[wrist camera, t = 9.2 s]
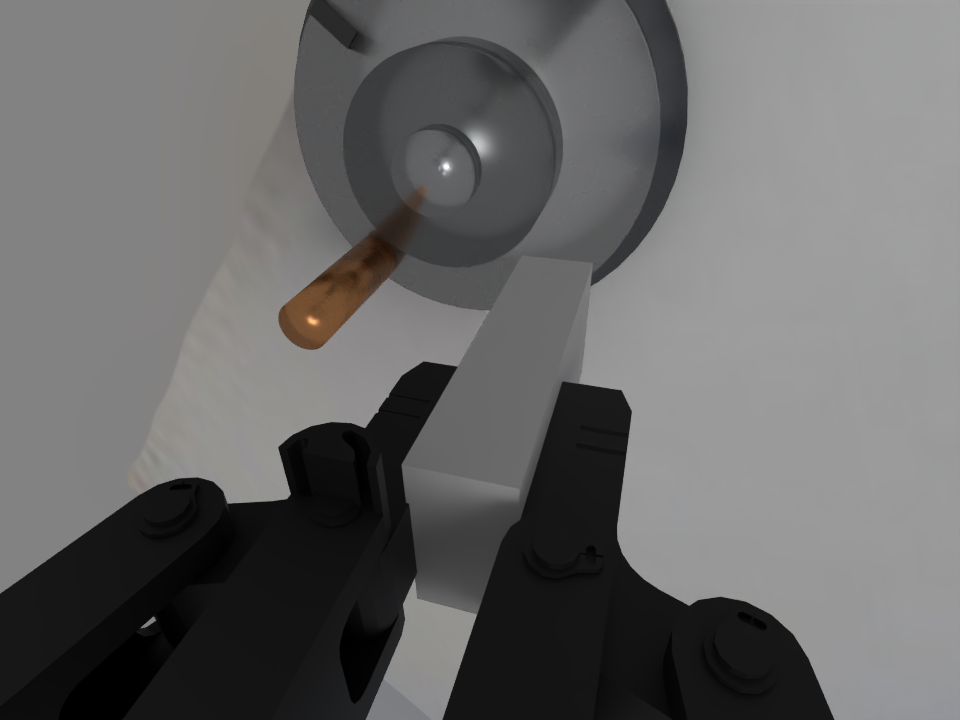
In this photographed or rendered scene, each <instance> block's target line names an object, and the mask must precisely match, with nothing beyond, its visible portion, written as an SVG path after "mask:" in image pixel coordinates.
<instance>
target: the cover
mask: <svg viewBox="0 0 960 720" xmlns="http://www.w3.org/2000/svg"><path fill="white" fill-rule="evenodd" d="M343 154H344V162H345V168H346V172H347V176H348V180H349V183H350V186H351V188H352V191H353V193H354V196H355V198H356V200H357V202H358V204H359V205H360V207H361V209H362V211H363V212H364V214H365V215H366V217H367V218H368V220H369V221H370V222H371V223H372V224H373V226H374V227H375V228H376V229H377V230H378V231H379V232H380V233H381V234H382V235H383V236H384V237H385V238H386V239H387V240H388V241H389V242H391V243H392V244H393V245H394V246H396V247H397V248H399V249H400V250H402V251H403V252H405V253H407V254H408V255H410V256H412V257H414V258H417V259H419V260H421V261H424V262H427V263H430V264H434V265H438V266H443V267H454V268H459V267H472V266H477V265H482V264H485V263H488V262H491V261H493V260H495V259H497V258H499V257H501V256H503V255H505V254H506V253H508V252H509V251H511V250H512V249H513V248H514V247H516V246H517V245H518V244H519V243H520V242H521V241H522V240H523V239H524V238H525V237H526V235H527V234H528V233H529V232H530V230H531V229H532V227H533V226H534V224H535V222H536V221H537V219H538V218H539V216H540V214H541V212H542V211H543V209H544V207H545V206H546V204H547V202H548V201H549V199H550V197H551V196H552V193H553V191H554V189H555V187H556V185H557V182H558V178H559V175H560V172H561V166H562V160H563V136H562V128H561V123H560V119H559V115H558V112H557V109H556V106H555V103H554V101H553V99H552V97H551V95H550V93H549V91H548V89H547V88H546V86H545V85H544V83H543V82H542V80H541V79H540V77H539V76H538V75H537V74H536V73H535V71H534V70H533V69H532V68H531V67H530V66H529V65H528V64H527V63H526V62H525V61H524V60H522V59H521V58H520V57H519V56H518V55H516V54H514V53H513V52H511V51H510V50H508V49H507V48H505V47H503V46H501V45H498V44H496V43H494V42H491V41H488V40H484V39H481V38H475V37H467V36H458V37H448V38H442V39H438V40H435V41H431V42H428V43H425V44H422V45H418V46H415V47H412V48H409V49H406V50H403V51H400V52H398V53H396V54H394V55H392V56H390V57H388V58H387V59H385V60H384V61H382V62H381V63H380V64H379V65H377V66H376V67H375V68H374V69H373V70H372V71H371V72H370V73H369V74H368V75H367V76H366V77H365V78H364V80H363V81H362V83H361V84H360V86H359V87H358V89H357V90H356V92H355V94H354V97H353V99H352V101H351V103H350V106H349V109H348V112H347V115H346V120H345V125H344V134H343Z"/></svg>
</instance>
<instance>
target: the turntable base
mask: <svg viewBox="0 0 960 720" xmlns="http://www.w3.org/2000/svg"><path fill="white" fill-rule="evenodd" d="M314 1H315V0H311V2H310V4H309V7H308V9H307V13H306V17H305V21H304V24H303V28H302V32H301V36H300V43H301V39H302V36H303V32H304V28H305V25H306V23H307V21H308V18H309V16H310V14H309V11H310V9H311V7H312V5H313V3H314ZM628 1H629V3H630V4H631V6H632V8H633V9H634V11H635V12H636V14H637V16H638V18H639V20H640V23H641V25H642V27H643V30H644V32H645V34H646V37H647V39H648V41H649V44H650V48H651V52H652V55H653V59H654V62H655V66H656V70H657V76H658V83H659V90H660V97H661V131H660V139H659V147H658V155H657V161H656V165H655V169H654V173H653V177H652V181H651V185H650V189H649V191H648V194H647V196H646V199H645V201H644V204H643V206H642V209H641V211H640V213H639V215H638V217H637V219H636V221H635V222H634V224H633V226H632V228H631V229H630V231H629V233H628V235H627V236H626V237H625V239H624V240H623V241H622V243H621V244H620V245H619V247H618V248H617V249H616V251H615V252H614V253H613V254H612V255H611V256H610V257H609V258H608V259H607V260H606V261H605V262H604V263H603V264H602V265H601V266H600V267H599V268H598V269H597V270H596V271H595V272H593V273H592V275H591V285H590V286H592V285H593V284H595V283H597V282H599V281H600V280H601V279H603V278H604V277H605V276H607V275H608V274H609V273H610V272H612V271H613V270H614V269H616V268H617V267H618V266H619V265H620V264H621V263H622V262H623V261H624V260H625V259H626V258H627V257H628V256H629V255H630V254H631V253H632V252H633V251H634V250H635V249H636V248H637V247H638V245H639V244H640V243H641V241H642V240H643V239H644V238H645V236H646V235H647V234H648V232H649V231H650V230H651V228H652V227H653V225H654V223H655V221H656V220H657V218H658V216H659V215H660V213H661V211H662V210H663V208H664V206H665V204H666V201H667V199H668V196H669V194H670V192H671V189H672V187H673V185H674V182H675V179H676V176H677V172H678V169H679V165H680V161H681V158H682V154H683V148H684V141H685V134H686V127H687V92H688V87H687V78H686V70H685V61H684V55H683V51H682V47H681V43H680V39H679V35H678V31H677V27H676V24H675V22H674V19H673V17H672V14H671V12H670V10H669V7H668V5H667V2H666V0H628ZM300 43H299V47H300ZM298 51H299V50H298Z"/></svg>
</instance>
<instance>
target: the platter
mask: <svg viewBox="0 0 960 720" xmlns="http://www.w3.org/2000/svg"><path fill="white" fill-rule="evenodd" d="M309 14H310V16H309V18H308V21H307V23H306V25H305V28H304V32H303V36H302V39H301V43H300V47H299V51H298V57H297V65H296V72H295V88H294V105H295V116H296V127H297V132H298V137H299V142H300V147H301V151H302V154H303V158H304V161H305V164H306V167H307V170H308V174H309V176H310V178H311V180H312V183H313V185H314V187H315V190H316V192H317V194H318V196H319V198H320V200H321V202H322V203H323V205H324V207H325V209H326V211H327V212H328V214H329V216H330V217H331V219H332V220H333V222H334V223H335V224H336V226H337V227H338V229H339V230H340V232H341V233H342V234H343V235H344V236H345V238H346V239H347V240H348V241H349V242H350V243H351V245H352V246H353V248H352V249H351V250H349V251H348V252H347V253H346V254H345V255H343V256H342V257H341V258H340V259H339V260H337V261H336V262H335V263H334V264H333V265H332V266H330V267H329V268H328V269H327V270H326V271H324V272H323V273H322V274H321V275H320V276H319V277H317V278H316V279H315V280H314V281H313V282H311V283H310V284H309V285H308V286H307V287H305V288H304V289H303V290H302V291H301V292H300V293H298V294H297V295H296V296H295V297H294V298H292V299H291V300H290V301H289V302H288V303H287V304H285V305H284V306H283V307H282V308H281V310H280V312H279V324H280V327H281V329H282V331H283V333H284V334H285V336H286V337H287V338H288V339H289V340H290V341H291V342H292V343H294V344H295V345H297V346H299V347H301V348H304V349H309V350H314V349H318V348H320V347H322V346H323V345H324V344H325V343H326V342H327V341H328V340H329V339H330V338H331V337H332V336H333V335H334V334H335V332H336V331H337V330H338V329H339V328H340V327H341V326H342V325H343V324H344V323H345V322H346V321H347V320H348V319H349V318H350V317H351V316H352V315H353V314H354V313H355V312H356V311H357V310H358V308H359V307H360V306H361V305H362V304H363V303H364V302H365V301H366V300H367V299H368V298H369V297H370V296H371V295H372V294H373V293H374V292H375V291H376V290H377V289H378V288H379V287H380V286H381V285H382V283H383V282H384V281H385V280H386V279H387V278H390V279H392V280H393V281H395V282H396V283H398V284H400V285H401V286H403V287H405V288H406V289H408V290H411V291H413V292H415V293H417V294H419V295H421V296H423V297H426V298H429V299H431V300H434V301H437V302H440V303H443V304H447V305H452V306H456V307H461V308H468V309H477V310H491V308H492V307H493V305H494V303H495V301H496V300H497V298H498V296H499V294H500V293H501V291H502V289H503V287H504V286H505V284H506V282H507V281H508V279H509V277H510V275H511V274H512V272H513V270H514V268H515V267H516V265H517V263H518V261H519V260H520V258H521V256H531V257H541V258H550V259H560V260H569V261H579V262H588V263H593V266H592V273H593V272H595V271H596V270H597V269H598V268H599V267H600V266H601V265H602V264H603V263H604V262H605V261H606V260H607V259H608V258H609V257H610V256H611V255H612V254H613V253H614V252H615V251H616V249H617V248H618V247H619V245H620V244H621V243H622V241H623V240H624V239H625V237H626V236H627V235H628V233H629V231H630V229H631V228H632V226H633V224H634V222H635V221H636V219H637V217H638V215H639V213H640V211H641V209H642V206H643V204H644V201H645V199H646V196H647V194H648V191H649V189H650V185H651V181H652V177H653V173H654V169H655V165H656V161H657V155H658V147H659V139H660V131H661V97H660V90H659V83H658V76H657V70H656V66H655V62H654V59H653V55H652V52H651V48H650V44H649V41H648V39H647V37H646V34H645V32H644V30H643V27H642V25H641V23H640V20H639V18H638V16H637V14H636V12H635V11H634V9H633V8H632V6H631V4H630V3H629V1H628V0H315V1H314V3H313V5H312V7H311V9H310V11H309ZM458 36H467V37H475V38H481V39H484V40H488V41H491V42H494V43H496V44H498V45H501V46H503V47H505V48H507V49H508V50H510V51H511V52H513V53H514V54H516V55H518V56H519V57H520V58H521V59H522V60H524V61H525V62H526V63H527V64H528V65H529V66H530V67H531V68H532V69H533V70H534V71H535V73H536V74H537V75H538V76H539V77H540V79H541V80H542V82H543V83H544V85H545V86H546V88H547V89H548V91H549V93H550V95H551V97H552V99H553V101H554V103H555V106H556V109H557V112H558V115H559V119H560V123H561V128H562V136H563V160H562V166H561V172H560V175H559V178H558V182H557V185H556V187H555V189H554V191H553V193H552V196H551V197H550V199H549V201H548V202H547V204H546V206H545V207H544V209H543V211H542V212H541V214H540V216H539V218H538V219H537V221H536V222H535V224H534V226H533V227H532V229H531V230H530V232H529V233H528V234H527V235H526V237H525V238H524V239H523V240H522V241H521V242H520V243H519V244H518V245H517V246H516V247H514V248H513V249H512V250H511V251H509V252H508V253H506V254H505V255H503V256H501V257H499V258H497V259H495V260H493V261H491V262H488V263H485V264H482V265H477V266H472V267H459V268H454V267H443V266H438V265H434V264H430V263H427V262H424V261H421V260H419V259H417V258H414V257H412V256H410V255H408V254H407V253H405V252H403V251H402V250H400V249H399V248H397V247H396V246H394V245H393V244H392V243H391V242H389V241H388V240H387V239H386V238H385V237H384V236H383V235H382V234H381V233H380V232H379V231H378V230H377V229H376V228H375V227H374V226H373V224H372V223H371V222H370V221H369V220H368V218H367V217H366V215H365V214H364V212H363V211H362V209H361V207H360V205H359V204H358V202H357V200H356V198H355V196H354V193H353V191H352V188H351V186H350V183H349V180H348V176H347V172H346V168H345V162H344V154H343V134H344V125H345V120H346V115H347V112H348V109H349V106H350V103H351V101H352V99H353V97H354V94H355V92H356V90H357V89H358V87H359V86H360V84H361V83H362V81H363V80H364V78H365V77H366V76H367V75H368V74H369V73H370V72H371V71H372V70H373V69H374V68H375V67H376V66H377V65H379V64H380V63H381V62H382V61H384V60H385V59H387V58H388V57H390V56H392V55H394V54H396V53H398V52H400V51H403V50H406V49H409V48H412V47H415V46H418V45H422V44H425V43H428V42H431V41H435V40H438V39H442V38H448V37H458Z"/></svg>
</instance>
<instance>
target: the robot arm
mask: <svg viewBox="0 0 960 720" xmlns="http://www.w3.org/2000/svg"><path fill="white" fill-rule="evenodd" d="M592 266H593V263H588V262H579V261H569V260H560V259H550V258H541V257H531V256H521V258H520V260H519V261H518V263H517V265H516V267H515V268H514V270H513V272H512V274H511V275H510V277H509V279H508V281H507V282H506V284H505V286H504V287H503V289H502V291H501V293H500V294H499V296H498V298H497V300H496V301H495V303H494V305H493V307H492V308H491V310H490V312H489V314H488V315H487V317H486V319H485V321H484V322H483V324H482V326H481V327H480V329H479V331H478V333H477V334H476V336H475V338H474V340H473V341H472V343H471V345H470V347H469V348H468V350H467V352H466V354H465V355H464V357H463V359H462V361H461V362H460V364H459V366H458V367H456V366H450V365H443V364H437V363H430V362H422V363H421V364H419V365H418V366H416V367H415V368H413V369H411V370H410V371H408V372H407V373H405V374H404V375H402V376H401V378H400V379H399V381H398V382H397V384H396V385H395V387H394V388H393V389H392V391H391V392H390V394H389V398H386V399H385V401H384V402H383V404H382V405H381V407H380V408H379V412H378V413H376V414H375V415H374V417H373V418H372V419H371V421H370V422H369V424H368V425H367V427H366V428H363V427H360V426H357V425H355V424H352V423H337V422H330V423H325V424H320V425H315V426H311V427H309V428H307V429H304V430H302V431H300V432H298V433H296V434H294V435H292V436H291V437H290V438H288V439H287V440H286V441H285V442H284V443H283V444H281V445H280V446H279V447H278V448H279V452H280V456H281V459H282V463H283V467H284V470H285V474H286V478H287V481H288V485H289V489H290V492H291V495H290V496H289V498H288V499H285V500H278V501H268V502H250V503H232V504H227V501H226V498H225V495H224V493H223V491H222V490H221V489H220V488H219V487H218V486H217V485H216V484H215V483H214V482H212V481H209V480H205V479H201V478H180V479H175V480H172V481H169V482H165V483H162V484H159V485H157V486H155V487H153V488H151V489H149V490H148V491H146V492H144V493H142V494H140V495H139V496H137V497H136V498H134V499H133V500H132V501H130V502H129V503H127V504H126V505H125V506H123V507H122V508H120V509H119V510H117V511H116V512H115V513H114V514H112V515H110V516H109V517H108V518H106V519H105V520H104V521H102V522H101V523H99V524H98V525H97V526H95V527H94V528H92V529H91V530H89V531H88V532H86V533H85V534H84V535H82V536H81V537H79V538H78V539H77V540H75V541H74V542H73V543H71V544H70V545H68V546H67V547H65V548H64V549H63V550H61V551H60V552H58V553H57V554H56V555H54V556H53V557H51V558H50V559H48V560H47V561H46V562H44V563H43V564H41V565H40V566H39V567H37V568H36V569H34V570H33V571H32V572H30V573H29V574H27V575H26V576H25V577H23V578H22V579H21V580H19V581H18V582H16V583H15V584H13V585H12V586H11V587H9V588H8V589H6V590H5V591H4V592H2V593H1V594H0V720H366V717H367V715H368V713H369V710H370V708H371V706H372V703H373V701H374V699H375V696H376V694H377V692H378V689H379V687H380V685H381V682H382V680H383V678H384V675H385V673H386V671H387V668H388V666H389V664H390V661H391V659H392V656H393V654H394V652H395V649H396V647H397V645H398V642H399V640H400V638H401V635H402V631H403V626H404V622H405V616H404V609H403V603H404V601H405V598H406V596H407V594H408V592H409V589H410V587H411V585H412V583H413V580H414V578H415V582H416V590H417V598H418V599H421V600H425V601H429V602H433V603H436V604H440V605H444V606H448V607H452V608H455V609H459V610H463V611H467V612H471V613H475V614H477V617H476V620H475V623H474V626H473V629H472V632H471V635H470V638H469V641H468V644H467V647H466V650H465V653H464V656H463V659H462V662H461V665H460V668H459V671H458V674H457V677H456V680H455V683H454V686H453V690H452V693H451V696H450V699H449V702H448V705H447V708H446V711H445V714H444V717H443V720H834V718H833V716H832V713H831V711H830V708H829V706H828V704H827V701H826V699H825V697H824V694H823V692H822V690H821V687H820V685H819V682H818V680H817V678H816V675H815V673H814V671H813V668H812V666H811V664H810V661H809V659H808V657H807V656H806V654H805V653H804V651H803V649H802V648H801V646H800V645H799V643H798V641H797V640H796V638H795V637H794V635H793V634H792V633H791V632H790V631H789V630H788V629H787V628H785V627H784V626H783V625H782V624H781V623H780V622H779V621H778V620H777V619H775V618H774V617H773V616H772V615H771V614H769V613H767V612H765V611H763V610H761V609H759V608H757V607H755V606H753V605H751V604H749V603H747V602H744V601H739V600H734V599H729V598H724V597H716V598H709V599H702V600H698V601H696V602H695V603H693V604H692V605H690V606H688V605H687V604H685V603H683V602H681V601H679V600H677V599H675V598H674V597H672V596H670V595H668V594H666V593H664V592H663V591H661V590H659V589H657V588H656V587H654V586H653V585H651V584H650V583H648V582H647V581H645V580H644V579H643V578H642V577H641V576H640V575H639V574H638V573H637V572H636V571H635V570H634V569H633V568H632V567H631V566H630V565H629V563H628V562H627V560H626V559H625V557H624V556H623V554H622V552H621V549H620V546H619V543H618V540H617V523H618V515H619V507H620V499H621V492H622V484H623V476H624V468H625V461H626V453H627V445H628V437H629V430H630V422H631V414H632V411H631V409H630V407H629V405H628V403H627V401H626V399H625V397H624V395H623V392H622V391H621V390H615V389H609V388H602V387H596V386H589V385H583V384H579V380H580V377H581V373H582V365H583V355H584V345H585V335H586V325H587V315H588V305H589V295H590V285H591V275H592ZM153 616H154V617H155V619H156V621H155V622H154V623H152V624H151V625H149V626H148V627H146V628H141V627H142V626H143V625H144V624H145V623H146V622H148V621H149V620H150V619H151V618H152V617H153ZM140 628H141V629H140Z"/></svg>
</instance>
